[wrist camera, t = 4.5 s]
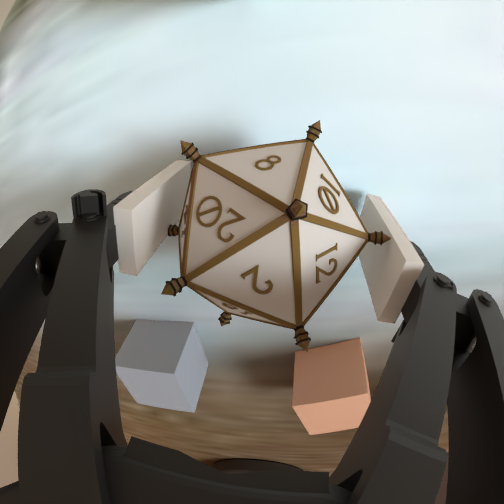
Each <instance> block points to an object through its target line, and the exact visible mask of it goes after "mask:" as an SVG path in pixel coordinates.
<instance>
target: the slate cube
mask: <svg viewBox="0 0 504 504" xmlns="http://www.w3.org/2000/svg"><path fill="white" fill-rule="evenodd" d="M115 365H116V373H117V375H118V376H119V378H120V379H121V381H122V382H123V384H124V385H125V386H126V388H127V389H128V391H129V392H130V394H131V395H132V396H133V398H134V399H135V400H136V402H137V403H139V404H144V405H149V406H154V407H160V408H166V409H172V410H179V411H186V412H194V413H195V409H196V406H197V402H198V399H199V396H200V392H201V389H202V385H203V382H204V378H205V375H206V372H207V368H208V365H209V364H208V361H207V358H206V356H205V353H204V350H203V347H202V344H201V341H200V338H199V336H198V333H197V330H196V327H195V324H194V322H177V321H156V320H140V319H137V320H136V321H135V323H134V325H133V327H132V328H131V330H130V332H129V334H128V335H127V337H126V339H125V341H124V343H123V344H122V346H121V348H120V350H119V352H118V353H117V355H116V357H115Z"/></svg>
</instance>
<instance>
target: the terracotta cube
mask: <svg viewBox="0 0 504 504" xmlns="http://www.w3.org/2000/svg"><path fill="white" fill-rule="evenodd" d="M370 402H371V397H370V389H369V382H368V375H367V370H366V365H365V360H364V355H363V350H362V346H361V341H360V338H357V339H353V340H348V341H344V342H340V343H335V344H331V345H326V346H322V347H317V348H312V349H308V351H305V350H302V351H297V352H295V364H294V384H293V401H292V407H293V409H294V410H295V412H296V413H297V415H298V417H299V418H300V420H301V421H302V423H303V425H304V426H305V428H306V429H307V431H308V433H309V434H310V435H314V434H321V433H328V432H335V431H341V430H347V429H353V428H358V427H359V425H360V423H361V421H362V419H363V417H364V415H365V413H366V411H367V408H368V406H369V404H370Z"/></svg>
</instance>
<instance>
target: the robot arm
mask: <svg viewBox="0 0 504 504" xmlns="http://www.w3.org/2000/svg"><path fill="white" fill-rule="evenodd" d="M190 169H191V161H184V160H176V161H175V162H173V163H172V164H171V165H169V166H168V167H166V168H165V169H163V170H162V171H161V172H159V173H158V174H156V175H155V176H154V177H152V178H151V179H149V180H148V181H147V182H145V183H144V184H143V185H141V186H140V187H139V188H137V189H136V190H135V191H129V192H127V193H124V194H122V195H120V196H119V197H118V198H116V200H114V201H112V202H111V203H110V204H108V205H107V206H106V194H105V192H104V191H102V190H85V191H81V192H78V193H76V194H74V195H73V196H72V197H71V200H72V209H73V216H74V219H73V222H72V223H59V224H58V218H57V214H56V213H54V212H50V211H47V212H46V211H42V212H38V213H37V214H35V215H33V216H32V217H30V218H29V219H28V220H27V221H26V222H25V223H24V224H23V225H22V226H21V227H20V228H19V229H18V230H17V231H16V232H15V233H14V234H13V235H12V237H11V238H10V239H9V240H8V241H7V242H6V243H5V244H4V245H3V246H2V248H1V249H0V431H1V428H2V425H3V422H4V419H5V416H6V413H7V409H8V406H9V403H10V401H11V398H12V395H13V392H14V389H15V387H16V384H17V381H18V379H19V376H20V374H21V371H22V369H23V366H24V364H25V361H26V359H27V357H28V354H29V352H30V350H31V348H32V345H33V343H34V341H35V339H36V336H37V334H38V332H39V330H40V328H41V326H42V324H43V322H44V320H45V324H44V329H43V334H42V340H41V346H40V352H39V359H38V367H37V371H36V373H28V374H27V375H26V376H25V377H24V380H23V384H22V391H21V401H20V412H19V429H18V478H19V481H17V482H14V483H12V484H9V485H7V486H4V487H2V488H0V504H434V503H435V499H436V497H437V494H438V491H439V487H440V484H441V481H442V477H443V474H444V470H445V466H446V462H447V452H446V450H445V449H443V448H440V447H438V441H439V437H440V432H441V428H442V424H443V419H444V414H445V409H446V403H447V404H448V426H449V463H448V484H447V496H446V504H504V319H503V317H502V314H501V312H500V310H499V307H498V305H497V303H496V302H495V300H494V299H493V298H492V296H491V295H490V294H488V293H487V292H484V291H482V290H478V289H476V290H473V292H472V294H471V295H470V297H469V299H468V298H466V297H464V296H461V295H459V294H457V289H456V286H455V284H454V283H453V281H451V280H450V279H449V278H448V277H446V276H445V275H443V274H441V273H438V272H435V271H434V270H433V268H432V266H431V265H430V263H429V262H428V261H427V258H426V257H425V256H424V254H423V252H422V251H421V249H420V248H419V247H418V246H417V245H416V244H415V243H413V242H411V241H410V240H409V239H408V237H407V236H406V234H405V233H404V231H403V230H402V228H401V227H400V225H399V224H398V222H397V221H396V219H395V218H394V216H393V215H392V213H391V212H390V210H389V209H388V208H387V206H386V205H385V203H384V202H383V201H382V199H381V198H380V197H378V196H374V195H370V194H367V195H366V199H365V202H364V205H363V209H362V212H361V215H360V219H361V221H362V222H363V224H364V226H365V228H366V229H367V231H368V233H373V232H375V231H377V232H381V231H382V232H383V233H384V234H386V235H387V236H389V237H390V238H391V239H390V240H388V241H386V242H385V243H383V244H382V246H381V245H380V244H376V245H374V243H372V242H367V244H366V245H365V247H364V248H363V250H362V251H361V252H360V254H359V255H358V256H359V259H360V262H361V265H362V268H363V271H364V275H365V278H366V281H367V284H368V288H369V291H370V295H371V298H372V302H373V305H374V309H375V312H376V316H377V320H378V321H382V322H389V323H395V322H396V320H397V318H398V316H399V315H400V313H401V312H402V314H403V317H404V320H403V322H402V324H401V325H400V327H399V329H398V331H397V332H396V334H395V336H394V337H393V339H392V341H391V342H393V343H394V344H393V347H392V350H391V353H390V355H389V358H388V361H387V363H386V366H385V368H384V371H383V374H382V376H381V378H380V381H379V383H378V386H377V388H376V390H375V393H374V395H373V397H372V400H371V402H370V404H369V406H368V408H367V411H366V413H365V415H364V417H363V419H362V421H361V423H360V425H359V427H358V429H357V431H356V433H355V435H354V437H353V439H352V441H351V443H350V445H349V447H348V449H347V451H346V452H345V454H344V456H343V458H342V460H341V461H340V463H339V465H338V467H337V468H336V469H335V471H334V472H333V473H332V475H331V476H330V477H329V472H310V471H303V470H301V469H299V468H296V467H293V466H290V465H286V464H281V463H276V462H269V461H260V460H243V459H236V460H224V461H219V462H216V463H215V464H214V465H213V467H210V466H208V465H206V464H204V463H202V462H200V461H198V460H196V459H194V458H192V457H190V456H188V455H186V454H184V453H182V452H180V451H178V450H174V449H171V448H167V447H164V446H160V445H157V444H154V443H150V442H147V441H144V440H141V439H138V438H135V437H132V436H131V439H130V441H129V444H128V446H127V443H126V440H125V437H124V433H123V429H122V424H121V417H120V408H119V400H118V390H117V378H116V365H115V347H114V271H113V265H114V264H115V262H116V261H117V260H118V264H119V272H121V273H125V274H129V275H134V276H137V275H138V274H139V272H140V271H141V269H142V268H143V267H144V265H145V264H146V263H147V261H148V260H149V259H150V257H151V256H152V255H153V253H154V252H155V251H156V249H157V248H158V247H159V245H160V244H161V243H162V241H163V240H164V239H165V237H166V236H167V235H168V228H169V226H170V224H171V225H174V224H175V225H176V223H177V222H178V221H179V219H180V218H181V214H182V210H183V206H184V201H185V197H186V193H187V189H188V184H189V180H190ZM36 264H37V269H36V266H35V265H36ZM45 318H46V319H45ZM394 341H395V342H394ZM475 342H476V345H475V348H474V349H473V351H472V346H473V345H474V344H475Z"/></svg>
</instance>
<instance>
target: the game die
mask: <svg viewBox="0 0 504 504" xmlns="http://www.w3.org/2000/svg"><path fill="white" fill-rule="evenodd" d="M308 127H309V130H308V131H306V132H307V138H306V139H302V140H294V141H286V142H278V143H271V144H264V145H258V146H251V147H245V148H239V149H233V150H228V151H222V152H217V153H212V154H206V155H200V154H199V153H198V149H197V148H195V147H194V146H193V145H194V144H193V143H192V144H191V143H188V142H184V141H181V140H180V141H181V148H182V153H181V154H182V155H183V154H184V155H185V156H186V159H188V158H189V159H191V160H193V162H194V164H193V168H192V172H191V176H190V180H189V184H188V189H187V193H186V197H185V201H184V206H183V210H182V214H181V219H180V224H179V227H178V226H176V225H175V224H174V225H171V224H170V226H169V228H168V236H172V235H173V236H176V235H178V237H179V256H180V273H181V277H180V278H177V279H176V278H172V280H171V281H166V285H165V287H164V289H163V291H162V294H165V295H173V296H174V297H175V296H176V293H178V292H179V293H180V292H181V291H182V288H183V287H184V286H188V287H189V288H191V289H192V290H193V291H195V292H196V293H198V294H199V295H201V296H202V297H204V298H205V299H207V300H208V301H210V302H211V303H213V304H214V305H216V306H217V307H219V308H220V309H222V310H223V311H224V312H223V313H222V314H221V315H220V316H221V317H220V318H219V320H220V324H221V326H223V325H226V324H230V320H231V319H232V318H231V314H232V315H236V316H240V317H244V318H248V319H252V320H256V321H260V322H264V323H269V324H273V325H277V326H282V327H286V328H290V329H294V330H295V337H294V339H295V338H296V342H297V343H295V344H296V345H299V346H300V347H301V348H303V349H304V350H305V351H308V347H309V342H310V340H311V339H310V337H308V332H307V331H305V330H304V325H305V324H306V323H307V322H308V320H309V319H310V318H311V317H312V316H313V314H314V313H315V312H316V311H317V309H318V308H319V307H320V305H321V304H322V303H323V302H324V300H325V299H326V298H327V297H328V295H329V294H330V293H331V291H332V290H333V289H334V287H335V286H336V285H337V284H338V282H339V281H340V280H341V278H342V277H343V276H344V274H345V273H346V272H347V270H348V269H349V267H350V266H351V265H352V263H353V262H354V261H355V259H356V258H357V256H358V255H359V254H360V252H361V251H362V250H363V248H364V247H365V245H366V244H367V242H372V243H374V245H376V244H380V245H381V246H382V244H383V243H385V242H386V241H388V240H390V239H391V238H390V237H389V236H387V235H386V234H384V233H383V232H382V231H381V232H377V231H375V232H373V233H368V231H367V229H366V228H365V226H364V224H363V222H362V221H361V219H360V217H359V215H358V214H357V212H356V210H355V208H354V207H353V205H352V203H351V202H350V200H349V198H348V196H347V195H346V193H345V191H344V190H343V188H342V187H341V185H340V183H339V182H338V180H337V178H336V177H335V175H334V174H333V172H332V170H331V169H330V167H329V166H328V164H327V163H326V161H325V160H324V158H323V156H322V155H321V153H320V152H319V150H318V149H317V147H316V146H315V144H314V141H315V140H316V139H317V138H319V134H320V133H322V131H321V127H320V120H319V121H318V122H316V123H314V124H313V125H311V126H308Z"/></svg>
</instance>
